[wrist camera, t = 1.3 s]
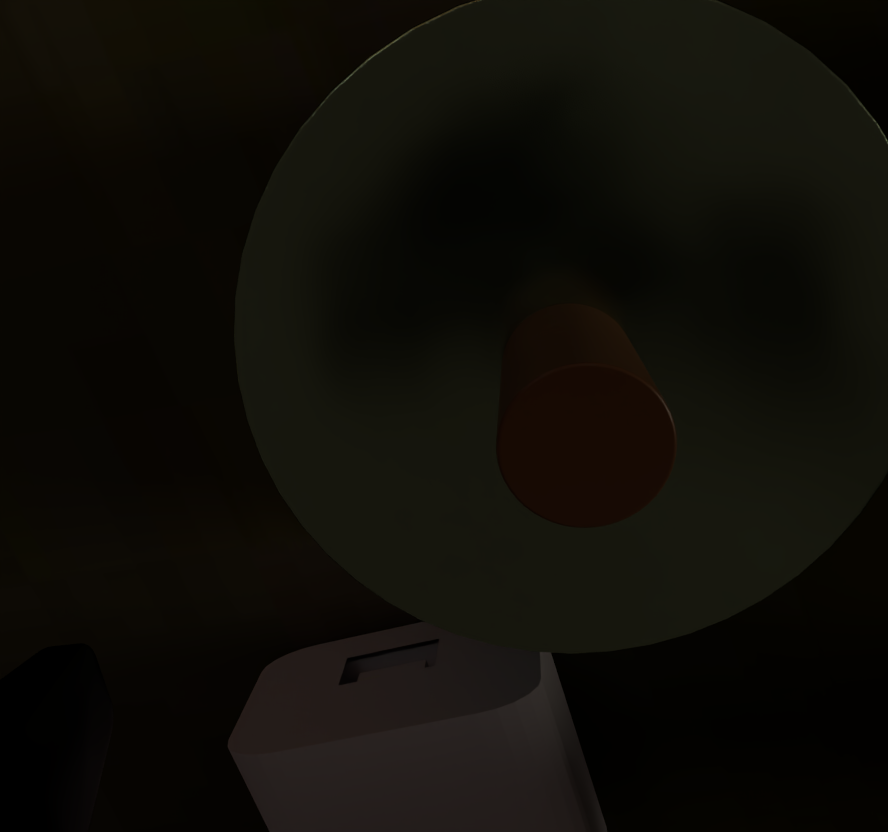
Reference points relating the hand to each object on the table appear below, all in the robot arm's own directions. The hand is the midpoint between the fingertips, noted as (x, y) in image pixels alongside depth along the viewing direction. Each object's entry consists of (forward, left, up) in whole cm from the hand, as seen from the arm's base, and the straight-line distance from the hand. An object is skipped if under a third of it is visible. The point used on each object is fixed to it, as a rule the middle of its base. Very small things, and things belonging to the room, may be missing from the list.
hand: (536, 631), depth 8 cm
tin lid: (-1, -1, -7) cm, 7 cm away
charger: (0, +17, -14) cm, 22 cm away
